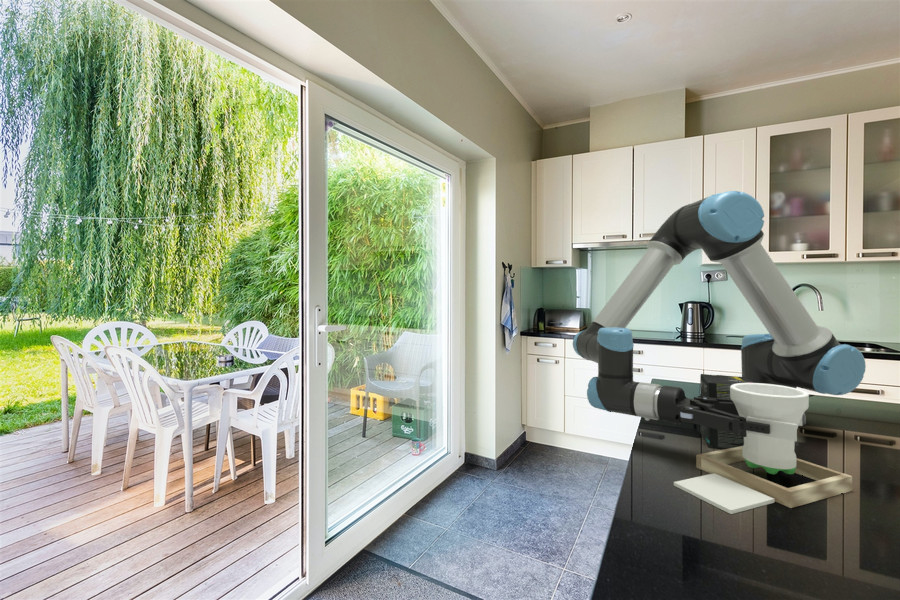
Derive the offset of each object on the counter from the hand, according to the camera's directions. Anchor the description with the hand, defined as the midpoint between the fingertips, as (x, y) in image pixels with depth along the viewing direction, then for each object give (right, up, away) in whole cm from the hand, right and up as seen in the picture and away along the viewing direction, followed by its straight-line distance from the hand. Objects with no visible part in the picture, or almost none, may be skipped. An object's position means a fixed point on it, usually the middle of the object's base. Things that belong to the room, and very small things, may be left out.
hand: (799, 425), depth 69 cm
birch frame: (-3, -11, +3) cm, 11 cm away
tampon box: (+2, -11, +21) cm, 24 cm away
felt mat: (-15, -11, -2) cm, 19 cm away
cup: (-3, -9, +3) cm, 10 cm away
